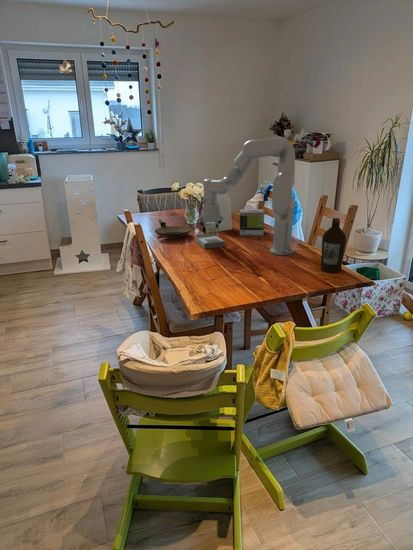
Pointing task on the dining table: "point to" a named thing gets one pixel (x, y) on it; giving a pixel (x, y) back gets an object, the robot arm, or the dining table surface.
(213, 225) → the tote
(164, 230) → the oil lamp
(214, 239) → the dock
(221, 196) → the milk
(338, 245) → the olive oil
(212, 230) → the pallet
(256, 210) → the tea box
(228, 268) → the dining table surface
